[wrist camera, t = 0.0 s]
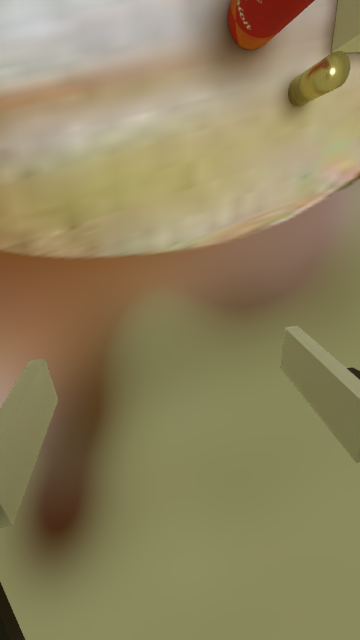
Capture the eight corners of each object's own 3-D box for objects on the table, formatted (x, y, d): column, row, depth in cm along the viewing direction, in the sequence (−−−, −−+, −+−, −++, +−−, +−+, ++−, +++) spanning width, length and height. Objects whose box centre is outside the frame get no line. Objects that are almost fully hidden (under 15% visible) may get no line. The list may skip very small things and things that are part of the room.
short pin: (289, 76, 34) (324, 51, 28) (313, 75, 35) (352, 50, 28) (287, 106, 36) (319, 89, 29) (309, 105, 36) (346, 88, 30)
